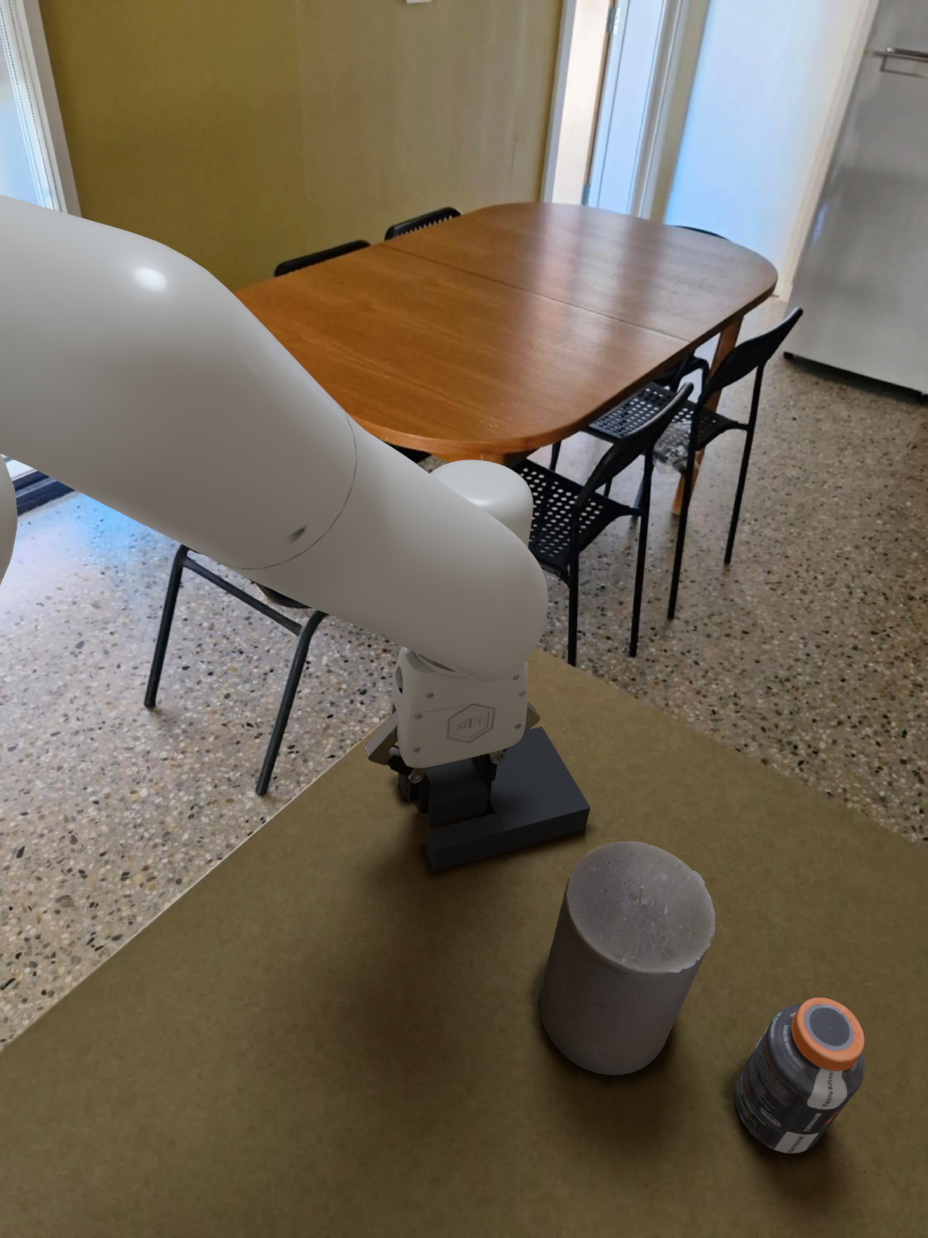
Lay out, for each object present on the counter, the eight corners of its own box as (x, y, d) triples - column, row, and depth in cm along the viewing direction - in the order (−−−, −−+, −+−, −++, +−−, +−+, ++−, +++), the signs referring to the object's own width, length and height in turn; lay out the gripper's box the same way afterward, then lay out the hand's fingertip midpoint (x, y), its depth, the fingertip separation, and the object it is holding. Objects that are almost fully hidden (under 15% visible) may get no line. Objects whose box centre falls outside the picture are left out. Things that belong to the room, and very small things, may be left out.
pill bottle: (820, 1170, 58) (884, 1094, 50) (728, 1136, 59) (778, 1057, 52) (822, 1081, 62) (881, 999, 55) (736, 1051, 63) (783, 967, 56)
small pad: (430, 828, 73) (431, 804, 71) (411, 783, 77) (412, 760, 75) (486, 813, 75) (489, 790, 73) (465, 770, 78) (467, 747, 77)
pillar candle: (512, 988, 66) (536, 867, 56) (611, 927, 70) (649, 806, 61) (596, 1106, 60) (639, 993, 50) (699, 1030, 64) (756, 914, 55)
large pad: (434, 872, 73) (435, 850, 71) (397, 782, 80) (398, 759, 78) (585, 829, 78) (590, 807, 76) (538, 748, 85) (542, 726, 83)
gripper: (364, 686, 59) (364, 853, 70) (592, 639, 64) (557, 802, 75) (335, 617, 64) (339, 783, 75) (548, 579, 69) (522, 740, 81)
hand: (449, 791), depth 75 cm, fingers closed on small pad, 4 cm apart
